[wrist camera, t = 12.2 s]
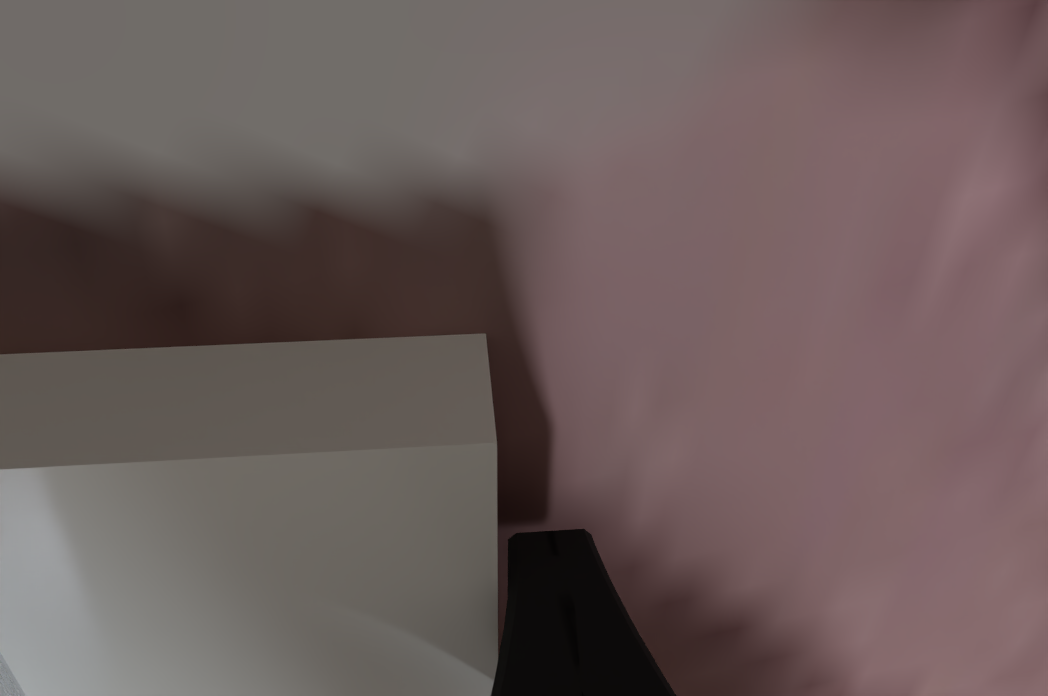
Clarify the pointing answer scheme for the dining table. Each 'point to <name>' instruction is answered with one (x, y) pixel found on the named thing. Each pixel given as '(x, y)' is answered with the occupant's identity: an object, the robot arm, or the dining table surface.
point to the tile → (251, 519)
